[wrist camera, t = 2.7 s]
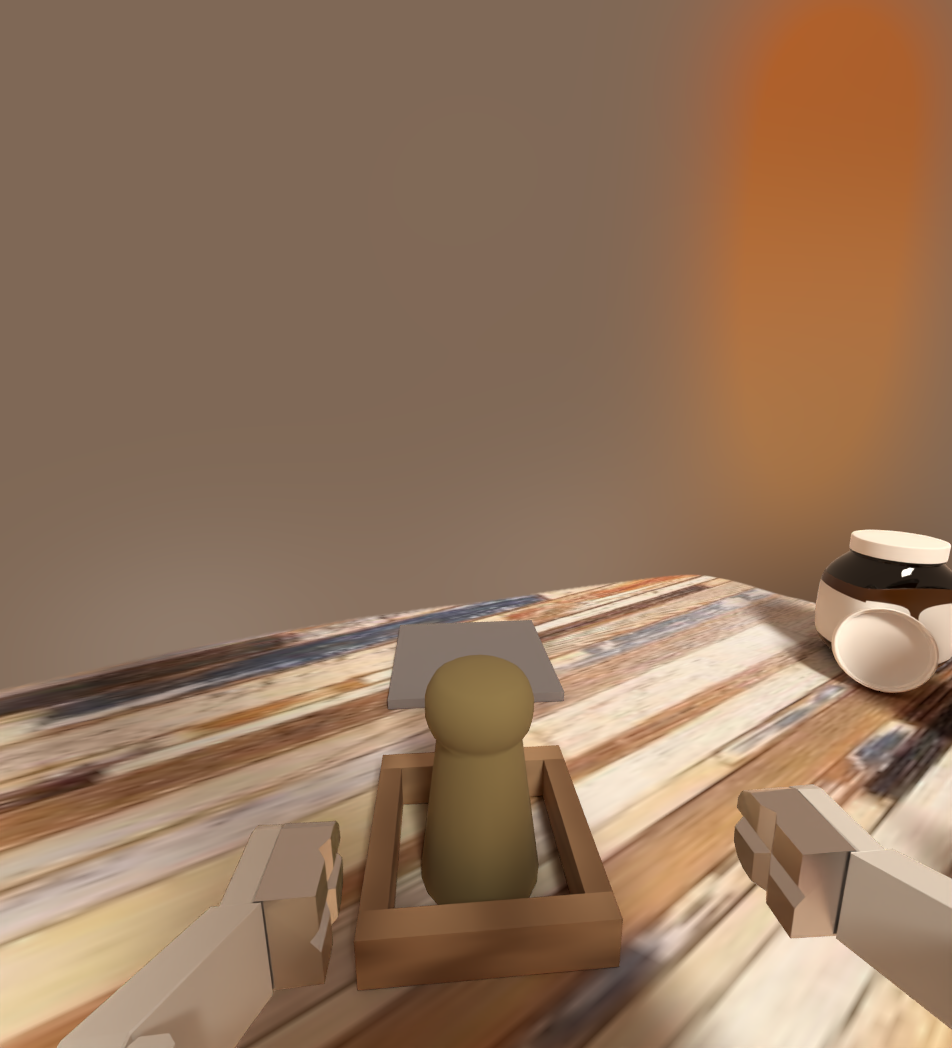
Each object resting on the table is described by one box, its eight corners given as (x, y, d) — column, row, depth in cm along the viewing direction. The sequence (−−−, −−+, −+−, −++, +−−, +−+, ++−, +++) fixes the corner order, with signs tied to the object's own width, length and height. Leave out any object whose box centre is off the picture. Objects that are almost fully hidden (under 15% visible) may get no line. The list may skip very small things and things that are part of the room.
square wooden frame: (357, 990, 20) (353, 941, 19) (384, 790, 30) (382, 755, 30) (618, 966, 21) (622, 919, 20) (557, 779, 31) (558, 745, 31)
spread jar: (900, 640, 50) (923, 529, 47) (1011, 705, 39) (1048, 564, 36) (778, 637, 51) (793, 527, 48) (852, 699, 40) (877, 561, 37)
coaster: (388, 709, 39) (387, 700, 38) (400, 632, 52) (400, 624, 52) (563, 700, 40) (564, 691, 40) (531, 627, 53) (531, 620, 53)
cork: (471, 799, 30) (470, 629, 27) (560, 854, 26) (568, 663, 24) (396, 870, 25) (386, 674, 23) (490, 949, 21) (491, 724, 19)
